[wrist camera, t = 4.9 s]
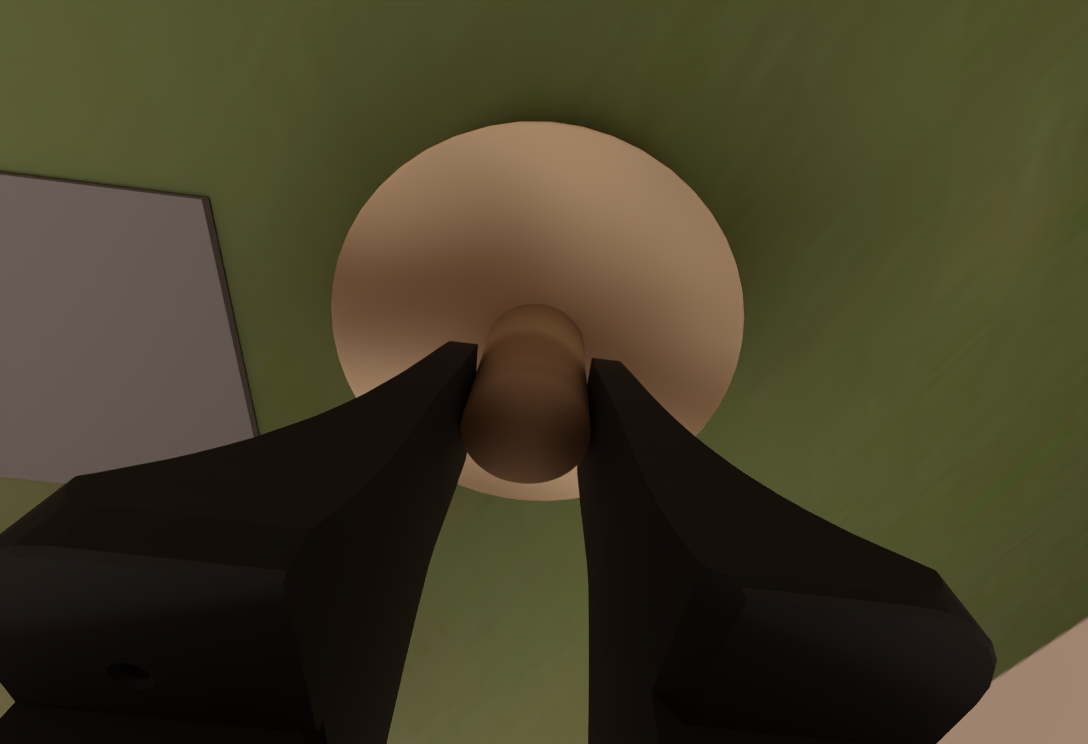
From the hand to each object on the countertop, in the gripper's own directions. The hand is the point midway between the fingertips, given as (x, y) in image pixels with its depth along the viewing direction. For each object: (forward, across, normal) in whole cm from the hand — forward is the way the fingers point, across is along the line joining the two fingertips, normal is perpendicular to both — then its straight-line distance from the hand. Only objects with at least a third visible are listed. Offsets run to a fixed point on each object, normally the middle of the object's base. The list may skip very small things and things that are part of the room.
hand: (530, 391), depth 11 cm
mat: (+5, +16, +4) cm, 17 cm away
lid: (+2, 0, 0) cm, 3 cm away
